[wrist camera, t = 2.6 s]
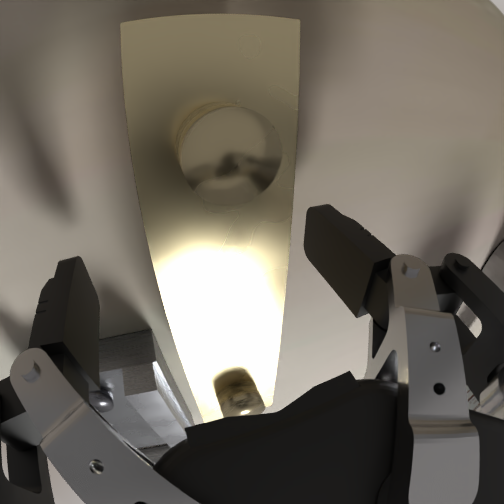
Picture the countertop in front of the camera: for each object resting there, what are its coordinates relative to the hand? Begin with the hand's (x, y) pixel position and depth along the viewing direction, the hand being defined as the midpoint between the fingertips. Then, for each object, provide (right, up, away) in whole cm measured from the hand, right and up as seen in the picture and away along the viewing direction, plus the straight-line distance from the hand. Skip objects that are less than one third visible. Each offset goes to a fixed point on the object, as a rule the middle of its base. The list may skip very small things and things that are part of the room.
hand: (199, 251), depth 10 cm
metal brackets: (-7, -16, +11) cm, 21 cm away
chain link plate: (-1, +1, +2) cm, 2 cm away
